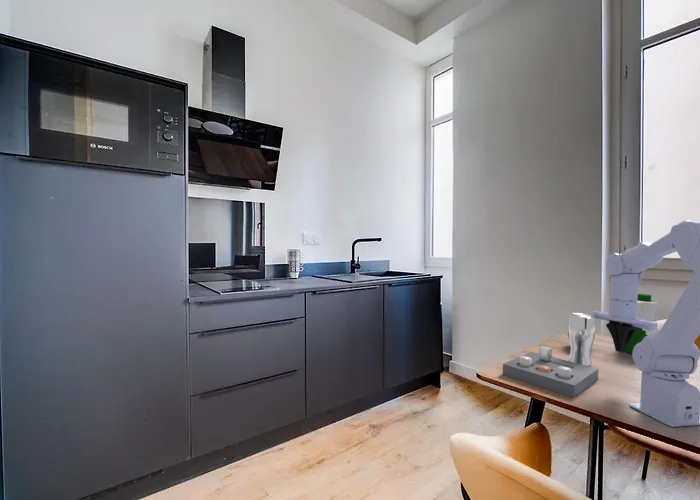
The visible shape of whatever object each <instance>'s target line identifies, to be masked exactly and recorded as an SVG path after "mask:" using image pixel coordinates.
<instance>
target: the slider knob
mask: <svg viewBox="0 0 700 500" xmlns="http://www.w3.org/2000/svg"><path fill="white" fill-rule="evenodd" d="M538 354H539V359H541V360H545V361H549V360H551V359H552V357H553V348H552V347H549V346H545V345H543V346H541V347H539V348H538Z"/></svg>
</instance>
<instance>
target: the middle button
mask: <svg viewBox="0 0 700 500" xmlns="http://www.w3.org/2000/svg"><path fill="white" fill-rule="evenodd" d="M538 370H539V371H543V372H546V373H550V370H551V368H550V367H547V366H542V365H540V366H538Z"/></svg>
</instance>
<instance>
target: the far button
mask: <svg viewBox="0 0 700 500" xmlns="http://www.w3.org/2000/svg"><path fill="white" fill-rule="evenodd" d="M519 357H520V365H522V366H525V367H531V363H532V359H531V358H530V357H526V356H522V355H520V356H519Z"/></svg>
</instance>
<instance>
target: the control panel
mask: <svg viewBox="0 0 700 500" xmlns="http://www.w3.org/2000/svg"><path fill="white" fill-rule="evenodd" d="M521 356H526V357H530V358H531V359H532V363H531V367H525V366H522V365H520V356H518V357H516V358H513V359H511V360H509V361H506V362H505V363H502V375H503V376H507V377H509V378H512V379H515V380H518V381H522V382H524V383H528V384H531V385H534V386H536V387H540V388H544V389H546V390H550V391H551V392H552V391H553V392H556V393H559V394H562V395H565V396H569V397H570V398H575V397H577V396H578V395H580V394H581V393H582V392H583V391H585V390H586V389H587V388H589V387H590V386H592V385H593V384H595V383H596V382H597V381H598V380H599V368H595V367H593V366H585V365H581V364H577V363H573V362H570V361H569V360H564V359H561V358H559V357H558V358H557V357H553V356H552V359H551V360H549V361H545V360H541V359H539V352H535V351H534V352H533V351H529V352H526V353H525V354H522V355H521ZM540 365H542V366H547V367H550V368H551V370H550V373H546V372H543V371H539V370H538V366H540ZM560 366H562V367H568V368H570V369H571V379H567V378H563V377H560V376H558V367H560Z"/></svg>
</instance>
